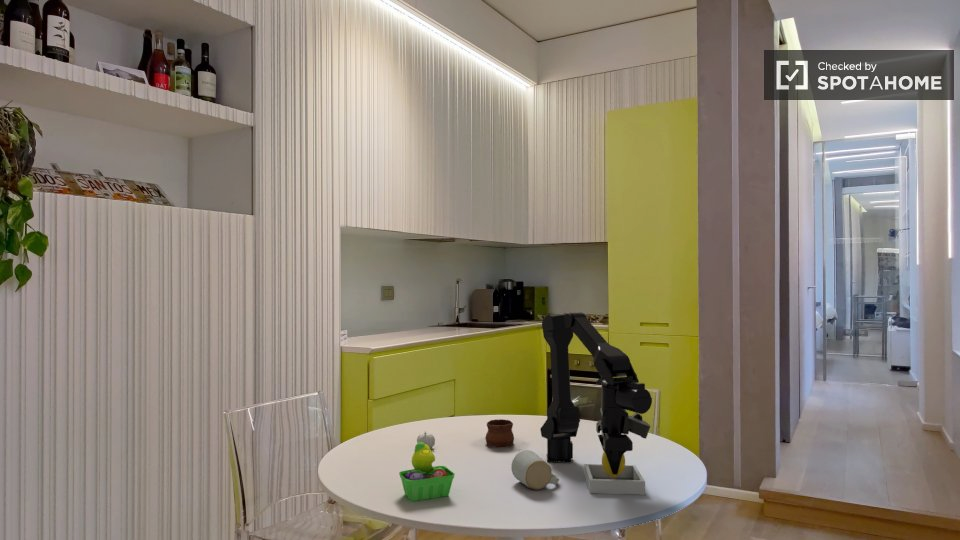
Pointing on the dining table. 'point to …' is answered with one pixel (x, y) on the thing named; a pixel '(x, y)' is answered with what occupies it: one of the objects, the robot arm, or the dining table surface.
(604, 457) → the lemon
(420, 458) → the fruit basket
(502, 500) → the dining table surface
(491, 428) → the ceramic pot
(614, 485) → the corral
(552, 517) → the dining table surface
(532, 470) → the ceramic mug
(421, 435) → the garlic
